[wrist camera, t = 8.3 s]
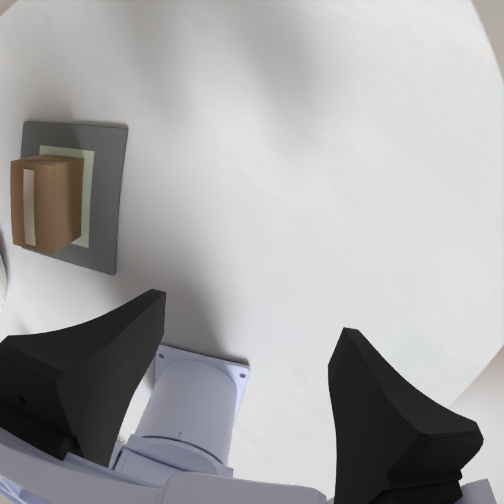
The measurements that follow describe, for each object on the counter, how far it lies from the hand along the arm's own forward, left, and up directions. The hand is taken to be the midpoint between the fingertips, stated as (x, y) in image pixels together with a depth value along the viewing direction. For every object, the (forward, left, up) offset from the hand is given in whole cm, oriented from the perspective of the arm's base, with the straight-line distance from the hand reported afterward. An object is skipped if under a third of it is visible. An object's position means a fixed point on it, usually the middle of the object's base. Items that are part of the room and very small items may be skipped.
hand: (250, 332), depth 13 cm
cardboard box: (+1, +16, -10) cm, 18 cm away
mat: (+1, +16, -10) cm, 19 cm away
